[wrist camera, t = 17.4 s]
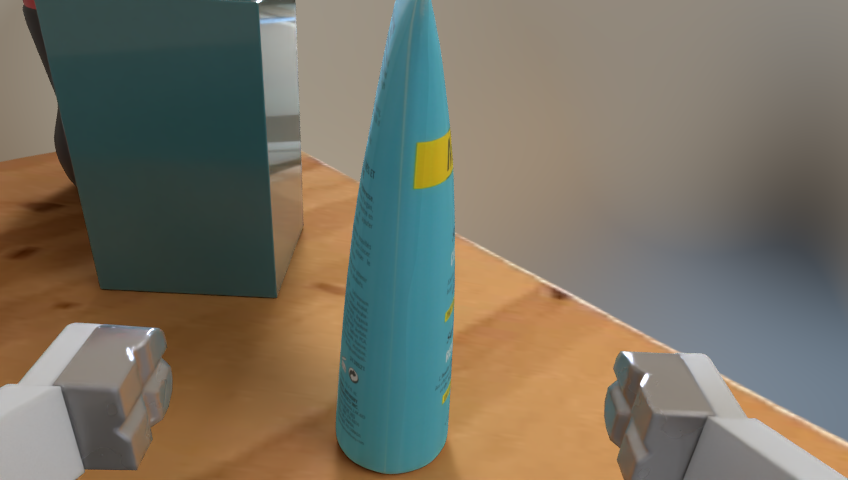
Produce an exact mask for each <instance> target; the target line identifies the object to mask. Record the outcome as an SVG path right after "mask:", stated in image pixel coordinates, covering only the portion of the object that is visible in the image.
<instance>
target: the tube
mask: <svg viewBox="0 0 848 480" xmlns="http://www.w3.org/2000/svg"><path fill="white" fill-rule="evenodd" d="M454 219H455V216H454V179H453V158H452V146H451V132H450V123H449V114H448V105H447V97H446V88H445V80H444V72H443V64H442V57H441V50H440V43H439V38H438V33H437V27H436V22H435V17H434V12H433V7H432V3H431V0H396V1H395V5H394V9H393V14H392V18H391V23H390V27H389V32H388V37H387V42H386V47H385V52H384V56H383V62H382V67H381V72H380V77H379V82H378V87H377V93H376V98H375V103H374V109H373V114H372V120H371V126H370V131H369V136H368V142H367V147H366V152H365V157H364V162H363V168H362V173H361V179H360V185H359V192H358V198H357V205H356V211H355V218H354V224H353V233H352V241H351V249H350V258H349V266H348V275H347V284H346V295H345V306H344V317H343V329H342V340H341V352H340V367H339V381H338V397H337V411H336V436H337V440H338V443H339V445H340V447H341V448H342V450H343V451H344V453H345V454H346V456H347V457H348V458H350V459H351V460H352V461H353V462H355V463H356V464H358V465H360V466H362V467H364V468H367V469H370V470H373V471H376V472H380V473H384V474H399V473H405V472H410V471H413V470H416V469H419V468H422V467H424V466H426V465H427V464H429V463H430V462H431V461H433V460H434V459H435V458H436V457H437V455H438V454H439V453H440V451H441V450H442V448H443V447H444V445H445V442H446V438H447V431H448V418H449V403H450V386H451V366H452V347H453V322H454V287H455V222H454Z"/></svg>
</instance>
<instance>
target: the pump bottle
mask: <svg viewBox="0 0 848 480" xmlns="http://www.w3.org/2000/svg"><path fill="white" fill-rule="evenodd" d="M34 2H35V6H36V10H37V15H38V19H39V23H40V28H41V32H42V36H43V41H44V45H45V50H46V54H47V58H48V63H49V67H50V71H51V76H52V80H53V84H54V89H55V93H56V97H57V102H58V106H59V111H60V115H61V119H62V124H63V128H64V132H65V137H66V141H67V145H68V150H69V154H70V158H71V163H72V167H73V171H74V176H75V180H76V185H77V189H78V193H79V198H80V202H81V206H82V211H83V215H84V219H85V224H86V228H87V232H88V237H89V241H90V246H91V250H92V254H93V259H94V263H95V267H96V272H97V276H98V280H99V285H100V288H101V289H110V290H130V291H149V292H169V293H189V294H208V295H228V296H247V297H267V298H277V296H278V293H279V291H280V288H281V285H282V282H283V280H284V277H285V274H286V272H287V269H288V266H289V263H290V261H291V258H292V255H293V253H294V250H295V247H296V244H297V242H298V239H299V236H300V234H301V231H302V228H303V225H304V222H303V195H302V167H301V140H300V114H299V113H300V112H299V85H298V57H297V33H296V32H297V31H296V3H295V0H34Z"/></svg>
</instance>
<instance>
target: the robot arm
mask: <svg viewBox="0 0 848 480" xmlns="http://www.w3.org/2000/svg"><path fill="white" fill-rule="evenodd" d="M166 348H167V343H166V339H165V334H164V331H162V330H161V329H160V328H152V327H138V326H124V325H110V324H103V325H101V324H91V323H72V324H70V325H67V326H66V327H65V328H64V329H63V330H62V332H61V333H60V334H59V335H58V336H57V338H56V339H55V340H54V341H53V342H52V343H51V345H50V346H49V347H48V348H47V349H46V351H45V352H44V353H43V354H42V355H41V357H40V358H39V359H38V360H37V361H36V362H35V364H34V365H33V366H32V367H31V368H30V370H29V371H28V372H27V373H26V374H25V375H24V377H23V378H22V379H21V380H20V381H19V383H18V384H7V385H5V386H2V387H0V480H76V479H77V478H78V477H79V476H81V475H82V474H83V473H84V472H85V470H84V469H100V470H137V469H138V467H139V465H140V463H141V461H142V459H143V457H144V455H145V453H146V451H147V449H148V447H149V445H150V444H151V442H152V440H153V438H152V433H151V427H152V426H154V425H155V424H157V423H158V422H160V421H161V420H162V419H163V417H164V415H165V413H166V411H167V409H168V407H169V403H170V398H171V394H172V371H171V366H170V365H169V364H168V363H167V362H166V361H164V360H163V359H162V358H161V357H162V355H163V354H164V352H165V350H166ZM613 369H614V372H615V374H616V377H617V381H615V382H614V383H613V384H612V385H611V386H609V387H608V390H607V394H606V398H605V410H604V418H605V424H606V429H607V432H608V435H609V438H610V440H611V441H612V442H613V443H614V444H616V445H617V446H618V447H619V448H620V451H619V454H618V458H617V461H618V464H619V467H620V470H621V473H622V476H623V478H624V480H848V479H847V478H846V477H844V476H843V475H841V474H840V473H838V472H837V471H835V470H834V469H832V468H831V467H829V466H828V465H826V464H825V463H823V462H821V461H820V460H818V459H817V458H815V457H814V456H812V455H811V454H809V453H808V452H806V451H805V450H803V449H802V448H800V447H799V446H797V445H796V444H794V443H793V442H791V441H790V440H788V439H787V438H785V437H783V436H782V435H780V434H779V433H777V432H776V431H774V430H773V429H771V428H770V427H768V426H767V425H765V424H764V423H762V422H761V421H759V420H758V419H753V418H747V416H746V415H745V413H744V411H743V410H742V408H741V407H740V405H739V404H738V402H737V400H736V399H735V397H734V396H733V394H732V393H731V391H730V389H729V388H728V386H727V385H726V383H725V381H724V380H723V378H722V377H721V375H720V374H719V372H718V370H717V369H716V367H715V366H714V364H713V363H712V361H711V359H710V358H709V357H708V356H706V355H705V354H698V353H675V354H670V353H648V352H625V351H620V353H619V354H618V356H617V358H616V361H615V364H614V368H613Z"/></svg>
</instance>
